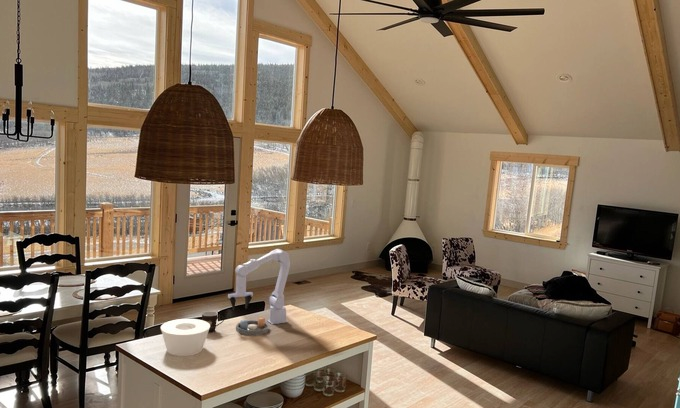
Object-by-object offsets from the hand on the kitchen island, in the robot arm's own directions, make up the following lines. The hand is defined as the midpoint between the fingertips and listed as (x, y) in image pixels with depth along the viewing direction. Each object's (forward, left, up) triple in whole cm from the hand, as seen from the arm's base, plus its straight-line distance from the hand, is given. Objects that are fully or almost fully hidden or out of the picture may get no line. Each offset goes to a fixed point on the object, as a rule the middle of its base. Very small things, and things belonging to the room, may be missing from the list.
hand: (239, 309), depth 298 cm
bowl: (+37, +22, -11) cm, 44 cm away
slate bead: (0, +8, -9) cm, 12 cm away
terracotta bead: (-10, +8, -9) cm, 16 cm away
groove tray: (-5, +8, -10) cm, 14 cm away
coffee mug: (+17, +2, -11) cm, 20 cm away
